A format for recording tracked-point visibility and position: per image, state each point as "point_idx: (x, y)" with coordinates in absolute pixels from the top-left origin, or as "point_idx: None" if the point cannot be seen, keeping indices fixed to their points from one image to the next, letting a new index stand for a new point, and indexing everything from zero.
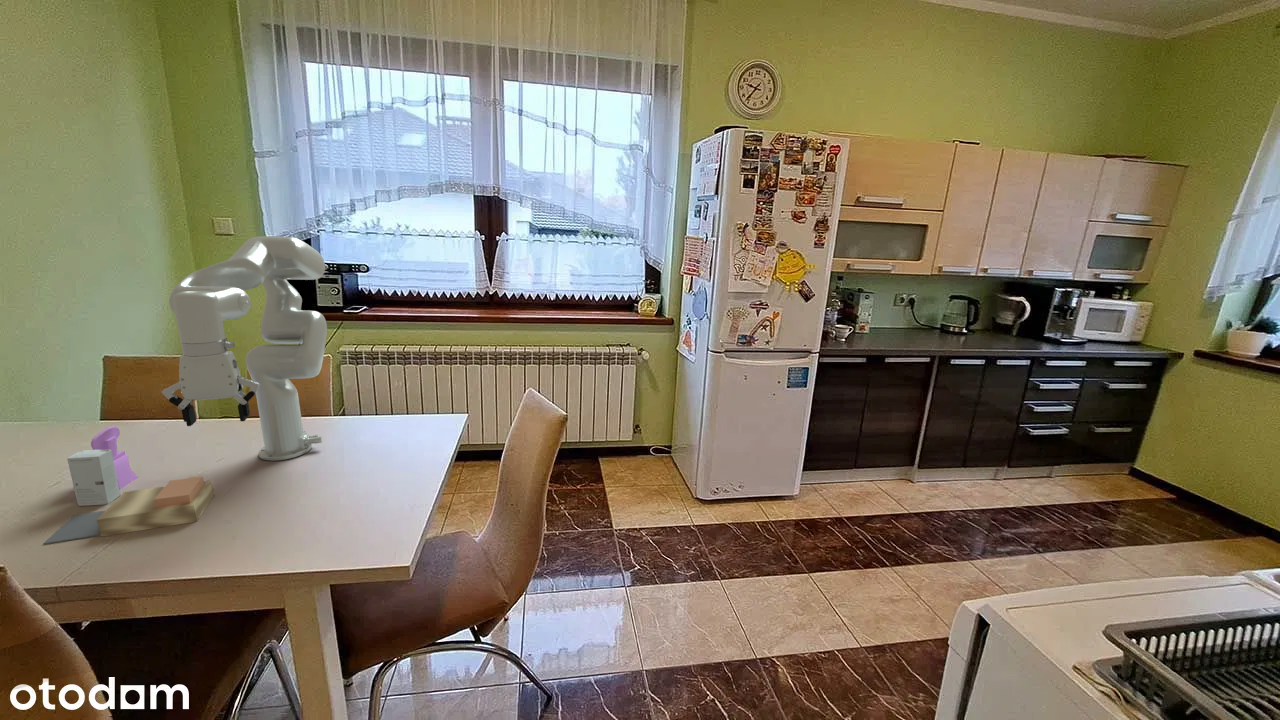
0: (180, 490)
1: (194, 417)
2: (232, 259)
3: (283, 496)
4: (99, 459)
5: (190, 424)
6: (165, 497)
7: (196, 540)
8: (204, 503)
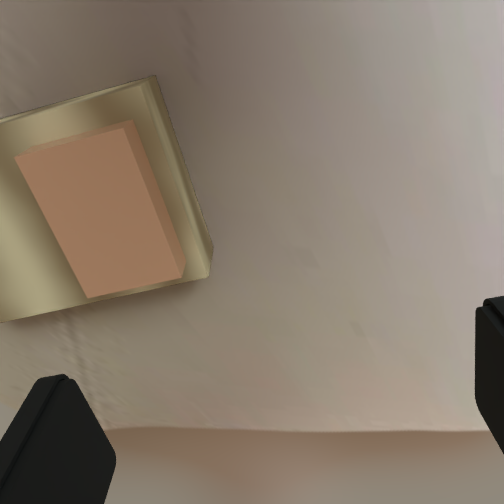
0: (127, 245)
1: (64, 432)
2: None
3: (420, 113)
4: None
5: (111, 469)
6: (115, 289)
7: (269, 330)
8: (186, 183)
